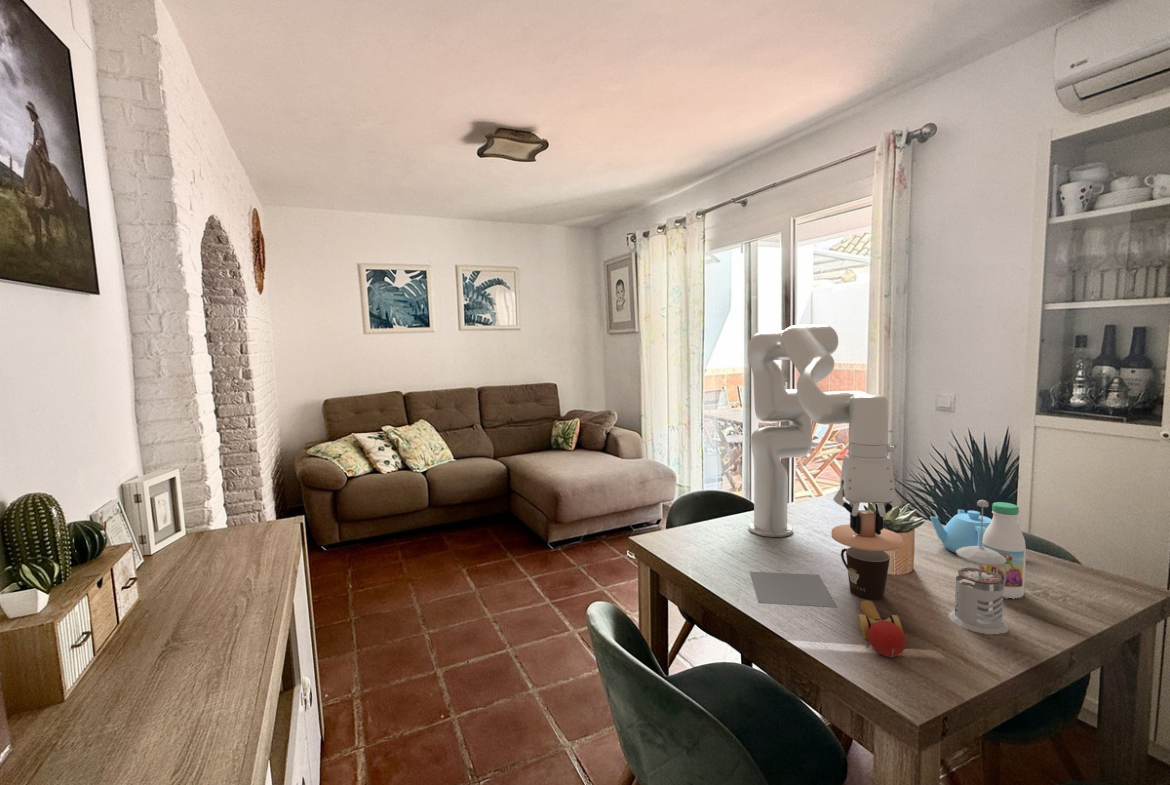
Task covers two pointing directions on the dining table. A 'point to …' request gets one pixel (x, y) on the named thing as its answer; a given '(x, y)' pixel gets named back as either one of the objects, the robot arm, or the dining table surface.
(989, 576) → the french press
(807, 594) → the mat
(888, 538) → the lid
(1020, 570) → the milk bottle
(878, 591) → the coffee mug
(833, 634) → the dining table surface
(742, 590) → the dining table surface
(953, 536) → the teapot
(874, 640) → the kendama
